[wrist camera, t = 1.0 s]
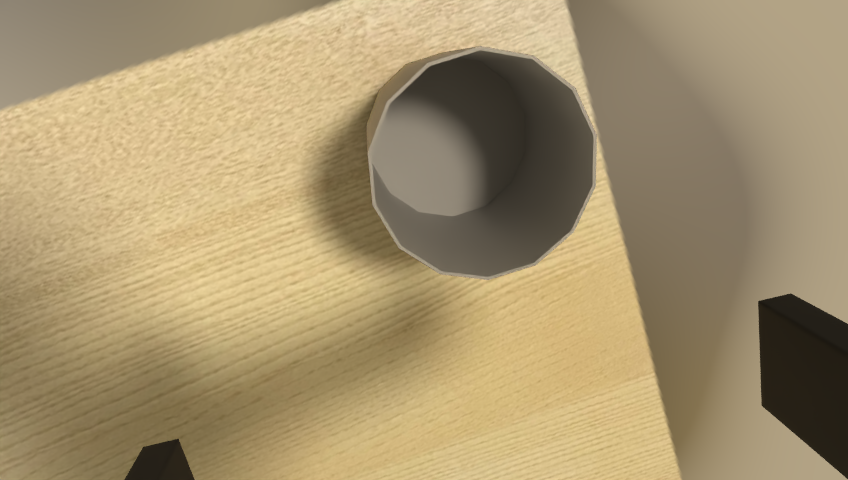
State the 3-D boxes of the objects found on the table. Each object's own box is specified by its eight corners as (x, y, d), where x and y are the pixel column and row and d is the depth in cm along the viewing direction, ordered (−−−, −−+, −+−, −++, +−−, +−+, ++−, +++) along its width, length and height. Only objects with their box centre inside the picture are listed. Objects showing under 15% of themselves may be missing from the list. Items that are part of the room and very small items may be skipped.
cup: (393, 233, 32) (406, 305, 22) (344, 83, 29) (334, 91, 20) (541, 187, 32) (617, 239, 22) (504, 33, 29) (573, 17, 20)
